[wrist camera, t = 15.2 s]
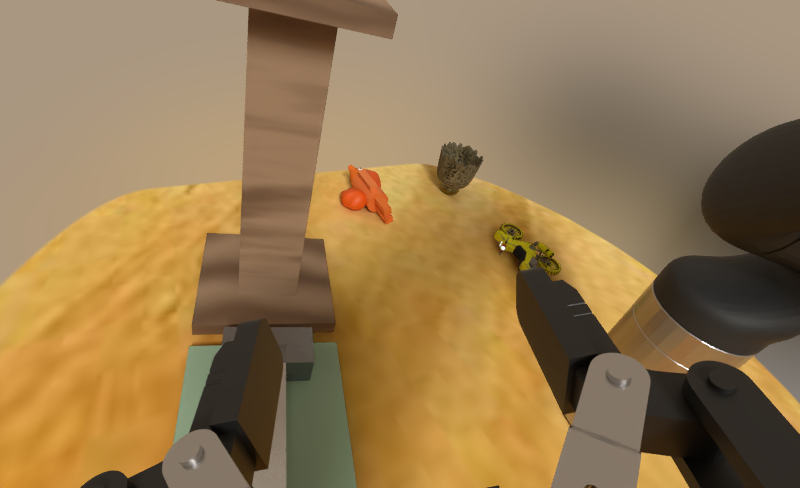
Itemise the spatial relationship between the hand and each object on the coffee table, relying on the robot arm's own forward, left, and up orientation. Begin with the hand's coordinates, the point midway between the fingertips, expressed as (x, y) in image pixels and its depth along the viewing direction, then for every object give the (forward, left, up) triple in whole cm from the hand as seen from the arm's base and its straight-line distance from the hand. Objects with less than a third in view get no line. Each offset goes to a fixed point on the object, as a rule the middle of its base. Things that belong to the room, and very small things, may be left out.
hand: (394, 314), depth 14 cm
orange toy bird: (-36, -30, -28) cm, 54 cm away
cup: (-54, -26, -28) cm, 66 cm away
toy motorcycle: (-49, -8, -28) cm, 57 cm away
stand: (-14, -24, -27) cm, 39 cm away
